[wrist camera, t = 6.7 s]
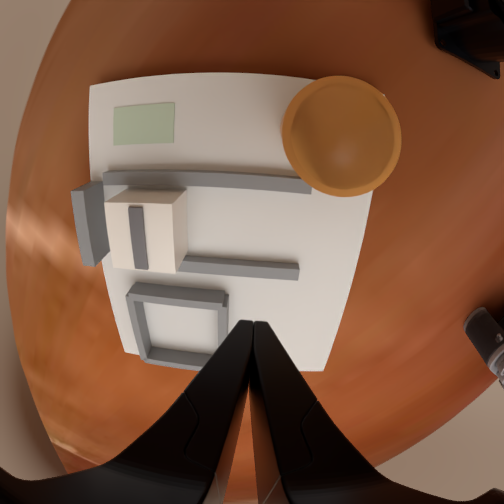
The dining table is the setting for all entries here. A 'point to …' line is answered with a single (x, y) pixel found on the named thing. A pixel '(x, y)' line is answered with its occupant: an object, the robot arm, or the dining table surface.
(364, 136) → the cap
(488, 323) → the camera
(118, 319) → the board
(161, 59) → the dining table surface
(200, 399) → the robot arm
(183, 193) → the block
